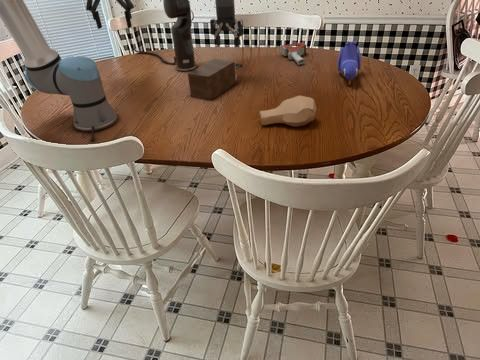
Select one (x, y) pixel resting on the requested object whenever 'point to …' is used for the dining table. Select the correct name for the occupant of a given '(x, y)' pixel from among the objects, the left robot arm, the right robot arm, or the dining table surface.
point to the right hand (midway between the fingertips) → (227, 45)
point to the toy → (349, 61)
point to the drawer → (237, 68)
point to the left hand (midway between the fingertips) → (114, 27)
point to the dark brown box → (212, 79)
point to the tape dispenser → (294, 52)
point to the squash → (291, 112)
